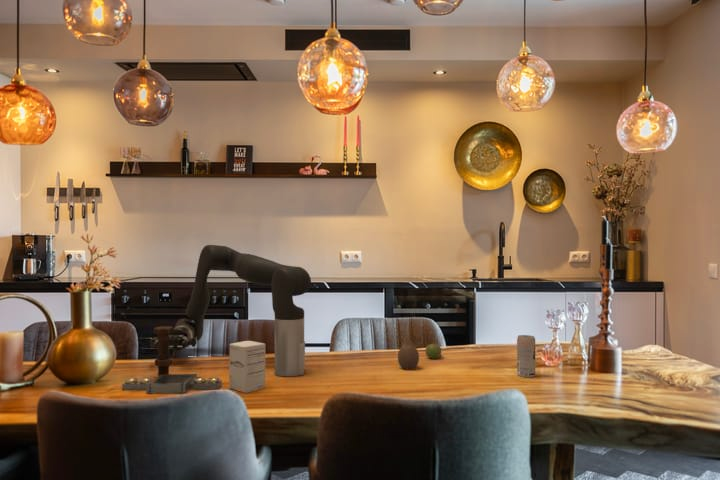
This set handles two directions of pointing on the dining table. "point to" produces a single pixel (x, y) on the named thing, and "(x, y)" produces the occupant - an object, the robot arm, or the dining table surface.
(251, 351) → the supplement box
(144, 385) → the chain end
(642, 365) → the dining table surface
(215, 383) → the chain end
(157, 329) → the bolt
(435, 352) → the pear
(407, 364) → the vase
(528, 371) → the energy drink
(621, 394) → the dining table surface
